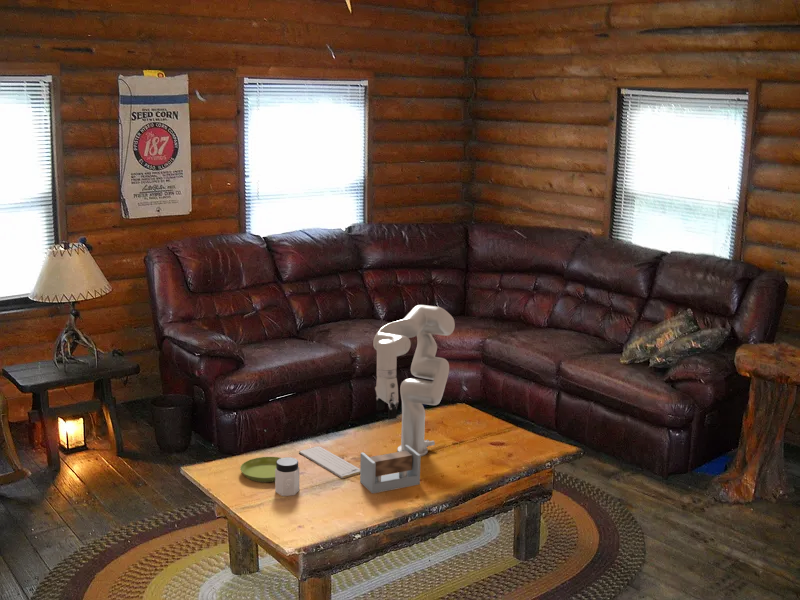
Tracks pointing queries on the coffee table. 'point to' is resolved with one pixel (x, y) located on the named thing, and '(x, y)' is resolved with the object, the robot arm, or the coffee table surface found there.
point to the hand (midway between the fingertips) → (386, 414)
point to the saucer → (260, 469)
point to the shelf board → (392, 463)
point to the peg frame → (389, 480)
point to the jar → (287, 476)
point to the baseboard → (330, 462)
